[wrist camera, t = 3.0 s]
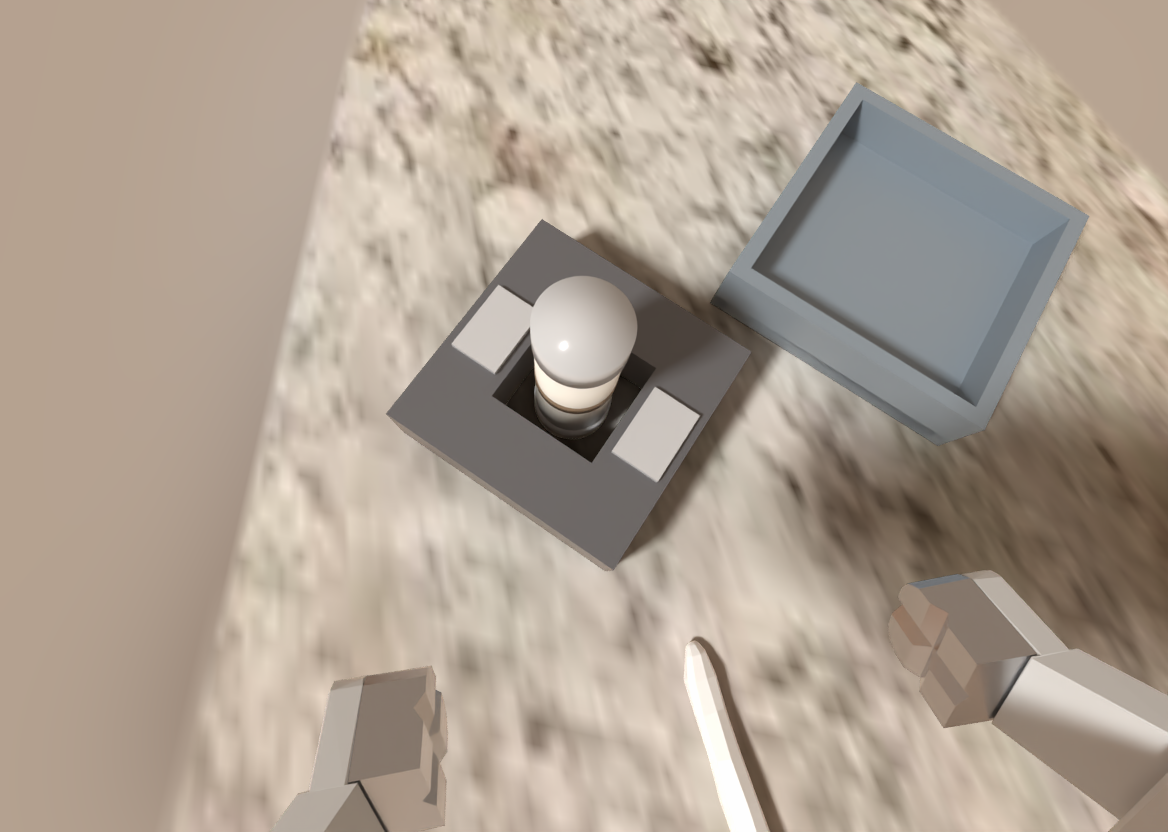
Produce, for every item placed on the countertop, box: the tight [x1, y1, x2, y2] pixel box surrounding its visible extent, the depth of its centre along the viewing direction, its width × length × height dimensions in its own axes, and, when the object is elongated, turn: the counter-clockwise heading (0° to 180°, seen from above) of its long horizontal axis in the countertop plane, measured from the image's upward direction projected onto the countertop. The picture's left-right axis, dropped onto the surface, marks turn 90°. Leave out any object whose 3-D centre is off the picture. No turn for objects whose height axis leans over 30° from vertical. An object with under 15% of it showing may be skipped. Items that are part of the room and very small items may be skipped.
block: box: [386, 219, 751, 571], centre depth 29 cm, size 12×12×4 cm
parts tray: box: [710, 82, 1089, 446], centre depth 32 cm, size 14×14×4 cm
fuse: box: [530, 276, 637, 439], centre depth 26 cm, size 4×4×10 cm
